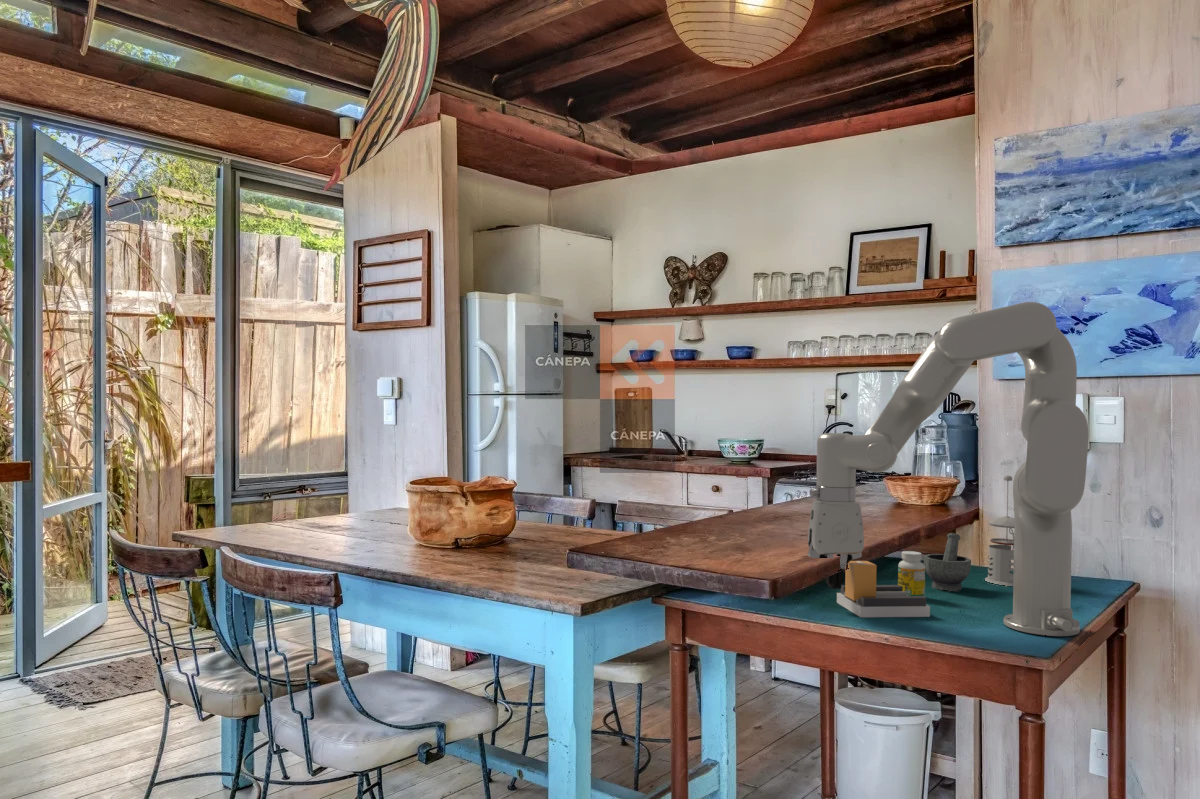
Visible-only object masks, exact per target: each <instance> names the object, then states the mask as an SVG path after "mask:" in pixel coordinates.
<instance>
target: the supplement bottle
mask: <svg viewBox="0 0 1200 799" xmlns="http://www.w3.org/2000/svg"><path fill="white" fill-rule="evenodd" d="M922 555H923V554H922V553H921V552H920V551H919V552H918V551H913V550H907V551H906V550H903V551H901V559H902V560H900V561H899V563H898V564H897V565H898V566H897V567H898V568H897V573H898V574H897V575H898V576H897V585H900V586H902V587H903V591H906V592H907V595H908V596H923V597H925V596H926V594H925V593H926V591H925V590H926V570H925V565H924V562H921V561H922V558H923V557H922ZM925 598H926V597H925Z"/></svg>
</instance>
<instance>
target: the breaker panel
mask: <svg viewBox="0 0 1200 799" xmlns="http://www.w3.org/2000/svg"><path fill="white" fill-rule="evenodd" d="M836 603H837V604H838V605H840V606H841V607H844V608H845V609H847V610H848V611H849V612H851V613H853V614H854V615H856V616H858V618H923V617H924V618H925V617H926V618H927V617H928V618H930V616H931V605H928V604H927V597H923V596H908V595H907V592H906V591H903V587H902V586H900V585H898V584H876V596H861V599H856V601H853V600H852V599H850V598H848V597H847V596H845V584H841V589H840V592H836Z"/></svg>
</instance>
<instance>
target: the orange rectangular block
mask: <svg viewBox="0 0 1200 799" xmlns="http://www.w3.org/2000/svg"><path fill="white" fill-rule="evenodd" d="M877 567H878V566H877V564H875V563H873V562H870V561H868V560H851V561H850V562H849V563H848V568H849V569H847V570H846V569H845V581H844V585H845V596H847V597H848V598H850V599H852V600H853V601H856V599H861V596H876V585H877Z"/></svg>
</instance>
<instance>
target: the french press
mask: <svg viewBox="0 0 1200 799" xmlns="http://www.w3.org/2000/svg"><path fill="white" fill-rule="evenodd" d="M1003 481H1006V482H1007V483H1006V484H1007V486H1006V487H1007V488H1006V491H1007V492H1006V498H1007V499H1006V516H1002V517H1000V516H999V517H996V518H992V519H991V520H990V521H988V524H989V525H990V526H992V527H997V528H1005V529H1006V536H1005V538H1003V537H1000V538H999V537H998V538H997V537H996V538H991V539H990V540H989V541H990V542H991V543H993V544H989V545H988V554H987V555H988V558H987V559H988V564H987V566H988V567H987V571H988V572H987V577H985V578H984V579H985V581H987V582H990V583H994V584H999V585H1005V586H1004V587H1007V586H1013V574H1014V562H1012V561H1014V530H1013V529H1014V517H1010V515H1009V482H1010V481H1013V477H1012V476H1011V475H1005V476H1003ZM1008 533H1009V534H1010V535H1012V538H1008ZM1012 572H1013V573H1012ZM994 584H993V585H994ZM999 585H998V586H999Z"/></svg>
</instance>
